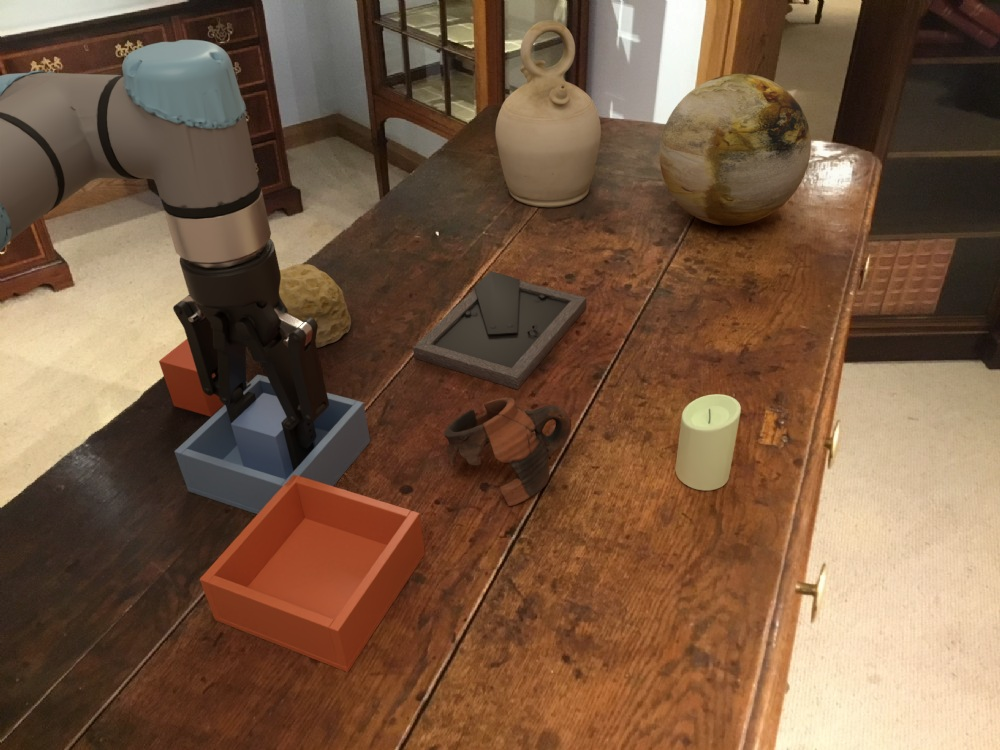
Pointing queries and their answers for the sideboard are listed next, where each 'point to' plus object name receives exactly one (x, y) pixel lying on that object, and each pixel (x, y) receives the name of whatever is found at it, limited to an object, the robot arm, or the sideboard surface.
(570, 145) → the jug
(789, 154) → the decorative sphere
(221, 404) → the rust block
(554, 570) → the sideboard surface
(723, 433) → the candle
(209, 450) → the slate bin
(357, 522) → the rust bin
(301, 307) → the rock
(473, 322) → the picture frame
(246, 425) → the slate block
